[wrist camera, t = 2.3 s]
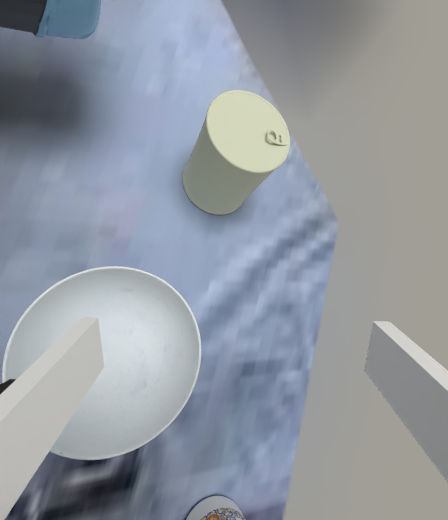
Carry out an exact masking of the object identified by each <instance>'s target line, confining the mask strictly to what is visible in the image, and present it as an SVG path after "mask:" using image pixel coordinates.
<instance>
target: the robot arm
mask: <svg viewBox="0 0 448 520" xmlns="http://www.w3.org/2000/svg"><path fill="white" fill-rule="evenodd" d="M100 6H101V0H0V27H3V28H9V29H15V30H21V31H26V32H32V33H33V34H34V36H35V37H39V38H40V37H44V36H45V35H49V36H57V37H64V38H72V39H85V38H87V37H89V36H90V35H91V34H92V33H93V32H94V31H95V29H96V27H97V24H98V21H99V15H100ZM103 368H104V361H103V352H102V344H101V336H100V328H99V320H98V318H95V317H82V318H81V319H80V320H79V321H78V322H77V323H76V324H75V325H73V326H72V327H71V328H70V329H69V330H68V331H67V332H66V333H65V334H64V335H63V336H62V337H61V338H60V339H59V340H58V341H57V342H55V343H54V344H53V345H52V346H51V347H50V348H49V349H48V350H47V351H46V352H45V353H44V354H43V355H42V356H41V357H40V358H39V359H37V360H36V361H35V362H34V363H33V364H32V365H31V366H30V367H29V368H28V369H27V370H26V371H25V372H24V373H23V374H22V375H21V376H19V377H18V378H17V379H9V380H7V381H6V382H4V383H2V384H1V385H0V520H5V518H6V517H7V515H8V514H9V512H10V511H11V509H12V507H13V506H14V504H15V503H16V501H17V500H18V498H19V497H20V495H21V494H22V492H23V491H24V489H25V488H26V486H27V485H28V483H29V481H30V480H31V478H32V477H33V475H34V474H35V472H36V471H37V469H38V468H39V466H40V465H41V463H42V462H43V460H44V458H45V457H46V455H47V454H48V452H49V451H50V449H51V448H52V446H53V445H54V443H55V442H56V440H57V439H58V437H59V436H60V434H61V432H62V431H63V429H64V428H65V426H66V425H67V423H68V422H69V420H70V419H71V417H72V416H73V414H74V413H75V411H76V410H77V408H78V406H79V405H80V403H81V402H82V400H83V399H84V397H85V396H86V394H87V393H88V391H89V390H90V388H91V387H92V385H93V384H94V382H95V380H96V379H97V377H98V376H99V374H100V373H101V371H102V370H103ZM365 372H366V373H367V375H368V376H369V377H370V379H371V380H372V382H373V383H374V384H375V386H376V387H377V388H378V390H379V391H380V392H381V394H382V395H383V396H384V398H385V399H386V400H387V402H388V403H389V404H390V406H391V407H392V408H393V410H394V411H395V412H396V414H397V415H398V417H399V418H400V419H401V421H402V422H403V423H404V425H405V426H406V427H407V429H408V430H409V431H410V432H411V434H412V435H413V437H414V438H415V439H416V441H417V442H418V443H419V445H420V446H421V447H422V449H423V450H424V452H425V453H426V454H427V456H428V457H429V458H430V459H431V461H432V462H433V463H434V465H435V466H436V467H437V469H438V470H439V472H440V473H441V474H442V476H443V477H444V478H445V480H446V481H447V482H448V371H447V370H446V369H445V368H443V367H442V366H441V365H440V364H439V363H438V362H436V361H435V360H434V359H433V358H432V357H431V356H429V355H428V354H427V353H426V352H424V351H423V350H422V349H421V348H420V347H419V346H417V345H416V344H415V343H414V342H413V341H412V340H410V339H409V338H408V337H407V336H406V335H405V334H403V333H402V332H401V331H400V330H399V329H397V328H396V327H395V326H394V325H393V324H391V323H390V322H382V321H379V322H378V321H374V322H373V325H372V331H371V336H370V342H369V347H368V353H367V359H366V364H365Z"/></svg>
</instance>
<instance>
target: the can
mask: <svg viewBox="0 0 448 520" xmlns="http://www.w3.org/2000/svg"><path fill="white" fill-rule="evenodd" d="M289 148H290V137H289V132H288V128H287V126H286V123H285V121H284V119H283V118H282V116H281V115H280V113H279V112H278V111H277V109H276V108H275V107H274V106H273V105H272V104H270V103H269V102H268V101H267V100H265V99H264V98H262V97H261V96H259V95H257V94H254V93H252V92H248V91H243V90H231V91H227V92H224V93H222V94H220V95H219V96H217V97H216V98H215V99H214V100H213V101H212V103H211V104H210V106H209V108H208V111H207V114H206V118H205V121H204V124H203V126H202V129H201V132H200V134H199V137H198V139H197V142H196V144H195V147H194V149H193V152H192V154H191V157H190V159H189V161H188V163H187V164H186V166H185V168H184V171H183V185H184V189H185V192H186V194H187V195H188V197H189V199H190V200H191V201H192V202H193V203H194V204H195V205H196V206H197V207H198V208H200V209H201V210H203V211H205V212H208V213H211V214H216V215H224V214H228V213H231V212H233V211H235V210H236V209H238V208H239V207H240V206H241V205H242V203H243V202H244V200H245V199H246V198H247V197H248V196H249V195H250V194H251V193H252V192H253V191H254V190H255V189H256V188H257V187H258V186H259V185H260V184H261V183H262V182H263V181H264V180H265V179H266V178H267V177H268V176H269V175H270V174H271V173H272V172H273V171H274V170H275V169H277V168H278V167H279V166H280V165H281V164H282V163H283V162H284V161H285V159H286V157H287V155H288V152H289Z"/></svg>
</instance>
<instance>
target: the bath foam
mask: <svg viewBox="0 0 448 520" xmlns="http://www.w3.org/2000/svg"><path fill="white" fill-rule="evenodd" d="M186 520H246V519H245V518H244V516H243V515H242V513H241V511H240V510H239V508H238V507H237V505H236V504H235V503H234V502H233V501H232V500H230V499H229V498H227V497H224V496H212V497H208V498H206V499H204V500H202V501H201V502H200V503H198V504H197V505H196V506H195V507H194V508H193V509H192V511H191V512H190V514H189V515H188V517H187V519H186Z"/></svg>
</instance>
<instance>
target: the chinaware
mask: <svg viewBox="0 0 448 520" xmlns="http://www.w3.org/2000/svg"><path fill="white" fill-rule="evenodd" d="M82 317H95V318H98V320H99V328H100V336H101V344H102V352H103V361H104V368H103V370H102V371H101V373H100V374H99V376H98V377H97V379H96V380H95V382H94V384H93V385H92V387H91V388H90V390H89V391H88V393H87V394H86V396H85V397H84V399H83V400H82V402H81V403H80V405H79V406H78V408H77V410H76V411H75V413H74V414H73V416H72V417H71V419H70V420H69V422H68V423H67V425H66V426H65V428H64V429H63V431H62V432H61V434H60V436H59V437H58V439H57V440H56V442H55V443H54V445H53V446H52V448H51V449H50V452H52V453H54V454H57V455H60V456H63V457H67V458H72V459H80V460H99V459H106V458H111V457H115V456H119V455H122V454H125V453H128V452H130V451H133V450H135V449H137V448H139V447H141V446H143V445H144V444H146V443H148V442H149V441H151V440H152V439H154V438H155V437H156V436H158V435H159V434H160V433H161V432H163V431H164V430H165V429H166V428H167V427H168V426H169V425H170V424H171V423H172V422H173V421H174V420H175V418H176V417H177V416H178V415H179V413H180V412H181V411H182V409H183V408H184V406H185V404H186V403H187V401H188V399H189V397H190V395H191V393H192V391H193V389H194V386H195V384H196V381H197V377H198V373H199V369H200V362H201V339H200V333H199V329H198V325H197V322H196V319H195V317H194V315H193V313H192V311H191V309H190V307H189V305H188V304H187V302H186V301H185V300H184V298H183V297H182V296H181V295H180V294H179V292H178V291H177V290H175V289H174V288H173V287H172V286H171V285H170V284H168V283H167V282H166V281H164V280H162V279H161V278H159V277H157V276H155V275H153V274H151V273H148V272H146V271H143V270H139V269H135V268H130V267H121V266H108V267H99V268H93V269H89V270H85V271H82V272H79V273H76V274H74V275H71V276H69V277H67V278H65V279H63V280H61V281H59V282H58V283H56V284H54V285H53V286H51V287H50V288H49V289H47V290H46V291H45V292H43V293H42V294H41V295H40V296H39V297H38V298H37V299H36V300H35V301H34V302H33V303H32V304H31V305H30V306H29V307H28V308H27V310H26V311H25V312H24V313H23V315H22V316H21V318H20V319H19V321H18V322H17V324H16V326H15V328H14V330H13V332H12V334H11V336H10V338H9V341H8V344H7V347H6V350H5V354H4V359H3V367H2V383H4V382H6V381H7V380H9V379H17V378H18V377H19V376H21V375H22V374H23V373H24V372H25V371H26V370H27V369H28V368H29V367H30V366H31V365H32V364H33V363H34V362H35V361H36V360H37V359H39V358H40V357H41V356H42V355H43V354H44V353H45V352H46V351H47V350H48V349H49V348H50V347H51V346H52V345H53V344H54V343H55V342H57V341H58V340H59V339H60V338H61V337H62V336H63V335H64V334H65V333H66V332H67V331H68V330H69V329H70V328H71V327H72V326H73V325H75V324H76V323H77V322H78V321H79V320H80V319H81V318H82Z"/></svg>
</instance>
